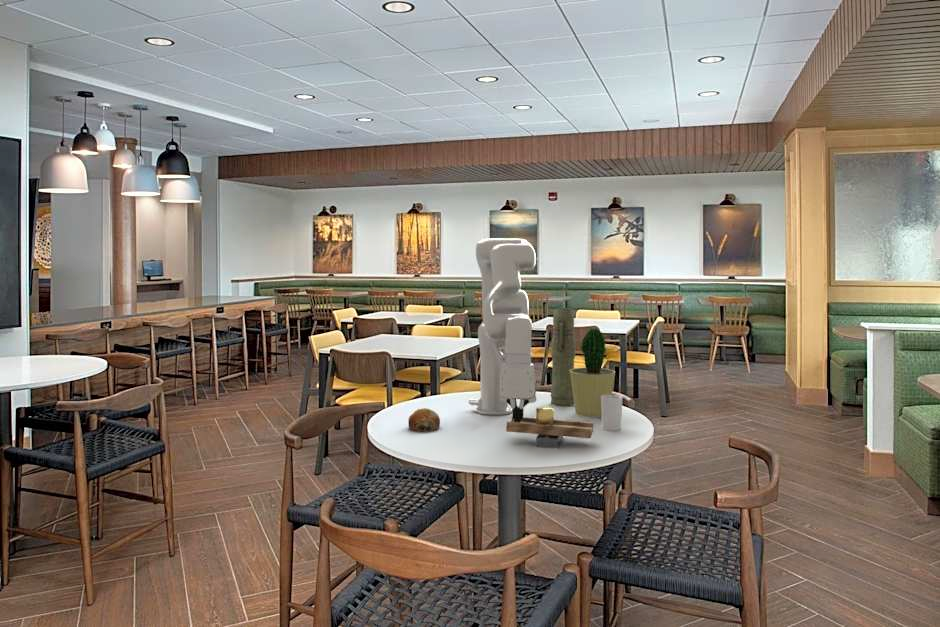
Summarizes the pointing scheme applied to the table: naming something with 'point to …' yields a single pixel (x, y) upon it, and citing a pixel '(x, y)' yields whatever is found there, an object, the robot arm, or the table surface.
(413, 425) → the bread roll
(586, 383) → the potted cactus
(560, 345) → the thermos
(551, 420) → the rider
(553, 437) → the fulcrum
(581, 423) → the beam
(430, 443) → the table surface
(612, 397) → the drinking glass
